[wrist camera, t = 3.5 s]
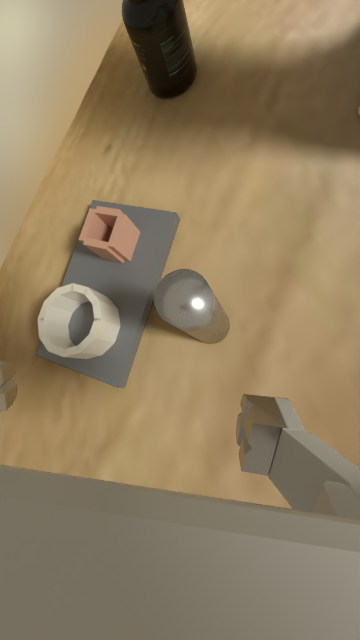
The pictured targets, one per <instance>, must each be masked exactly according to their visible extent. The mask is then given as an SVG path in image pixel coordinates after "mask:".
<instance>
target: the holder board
mask: <svg viewBox="0 0 360 640" xmlns="http://www.w3.org/2000/svg"><path fill="white" fill-rule="evenodd" d="M179 221H180V218H179V217H178V215H177V213H176V212H169V211H162V210H156V209H149V208H142V207H136V206H129V205H122V204H116V203H109V202H102V201H95V200H92V203H91V206H90V208H89V211H88V214H87V217H86V219H85V222H84V225H83V228H82V230H81V233H80V236H79V239H78V241H77V244H76V247H75V250H74V252H73V255H72V258H71V260H70V263H69V266H68V269H67V271H66V274H65V277H64V280H63V282H62V285H61V287H59V288H57V289H56V290H55V291H54V292H53V293H52V294H51V295H50V296H49V297H48V298H47V299H46V300H45V301H44V303H43V306H42V308H41V311H40V314H39V317H38V332H39V338H40V340H41V343H40V345H39V348H38V351H37V354H36V355H37V356H39V357H42V358H44V359H47V360H49V361H52V362H54V363H57V364H59V365H62V366H64V367H67V368H69V369H72V370H74V371H77V372H79V373H82V374H85V375H87V376H90V377H92V378H95V379H97V380H100V381H102V382H105V383H107V384H110V385H112V386H115V387H117V388H123V387H125V385H126V382H127V379H128V376H129V373H130V370H131V367H132V364H133V361H134V358H135V354H136V351H137V348H138V345H139V342H140V339H141V336H142V333H143V330H144V327H145V324H146V321H147V318H148V315H149V312H150V309H151V306H152V303H153V300H154V295H155V290H156V288H157V286H158V284H159V282H160V278H161V275H162V272H163V269H164V266H165V263H166V260H167V257H168V254H169V251H170V248H171V245H172V242H173V239H174V236H175V233H176V230H177V227H178V224H179Z"/></svg>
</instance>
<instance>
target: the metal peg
mask: <svg viewBox="0 0 360 640" xmlns="http://www.w3.org/2000/svg"><path fill="white" fill-rule="evenodd" d="M154 304H155V308H156V311H157V313H158V314H159V316H160V317H161V318H162V319H163V320H164V321H166V322H168V323H169V324H171V325H173V326H175V327H177V328H178V329H180V330H182V331H184V332H186V333H188V334H189V335H191V336H193V337H195V338H197V339H198V340H200V341H202V342H204V343H207V344H215V343H218V342H220V341H222V340H223V339H224V338H225V337H226V335H227V334H228V331H229V327H230V324H229V319H228V317H227V315H226V314H225V312H224V310H223V308H222V307H221V305H220V303H219V302H218V300H217V298H216V297H215V295H214V293H213V292H212V290H211V288H210V286H209V285H208V283H207V281H206V280H205V279H204V277H203V276H202V275H200V274H199V273H197V272H195V271H193V270H189V269H179V270H175V271H173V272H171V273H169V274H167V275H166V276H165V277H164V278H163V279H162V280H161V281H160V282H159V284H158V286H157V288H156V290H155V295H154Z"/></svg>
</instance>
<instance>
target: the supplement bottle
mask: <svg viewBox="0 0 360 640" xmlns="http://www.w3.org/2000/svg"><path fill="white" fill-rule="evenodd" d="M122 17H123V21H124V24H125V27H126V29H127V32H128V34H129V37H130V39H131V42H132V45H133V47H134V50H135V52H136V55H137V57H138V60H139V62H140V65H141V68H142V70H143V73H144V75H145V78H146V80H147V83H148V85H149V87H150V90H151V91H152V92H153V93H154V94H155V95H156V96H158V97H161V98H172V97H175V96H178V95H180V94H181V93H183V92H184V91H185V90H186V89H187V88H188V87H189V86H190V85H191V84H192V82H193V80H194V78H195V75H196V61H195V56H194V51H193V46H192V42H191V37H190V32H189V27H188V23H187V18H186V13H185V8H184V3H183V0H123V3H122Z"/></svg>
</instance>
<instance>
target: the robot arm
mask: <svg viewBox="0 0 360 640" xmlns="http://www.w3.org/2000/svg"><path fill="white" fill-rule="evenodd" d="M358 114H359V115H360V105H359V108H358ZM14 374H15V367H14V364H13V363H11V362H9V361H2V360H0V413H1V412H4V411H6V410H7V409H8V408H9V407H10V406H11V405H12V404H13V402H14V400H15V398H16V394H17V384H16V383H15V381H14V380H13V379H12V377H13V376H14ZM241 410H242V412H241V413H240V414H239V415H238V419H237V425H236V440H237V444H238V445H239V446H240V450H239V460H240V466H241V471H244V472H249V473H255V474H261V475H266V476H269V478H270V480H271V481H272V482H273V484H274V485H275V486H276V487H277V489H278V490H279V491H280V493H281V494H282V495H283V497H284V498H285V499H286V500H287V502H288V503H289V504H290V506H291V507H292V508H293V509H288V508H282V507H275V506H269V505H262V504H255V503H249V502H242V501H235V500H229V499H222V498H216V497H209V496H202V495H196V494H189V493H183V492H176V491H170V490H163V489H157V488H150V487H144V486H137V485H130V484H124V483H117V482H111V481H104V480H98V479H91V478H84V477H78V476H71V475H64V474H58V473H51V472H44V471H38V470H31V469H25V468H18V467H12V466H5V465H0V640H360V469H359V468H358V467H356V466H355V465H354V464H352V463H351V462H350V461H348V460H347V459H346V458H344V457H343V456H342V455H340V454H339V453H338V452H336V451H335V450H334V449H332V448H331V447H330V446H328V445H327V444H326V443H324V442H323V441H322V440H320V439H319V438H318V437H316V436H315V435H314V434H312V433H311V432H308V431H305V430H304V428H303V426H302V424H301V422H300V420H299V418H298V416H297V414H296V412H295V410H294V407H293V405H292V403H291V401H290V400H289V399H287V398H277V397H267V396H258V395H249V394H243V396H242V399H241Z"/></svg>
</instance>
